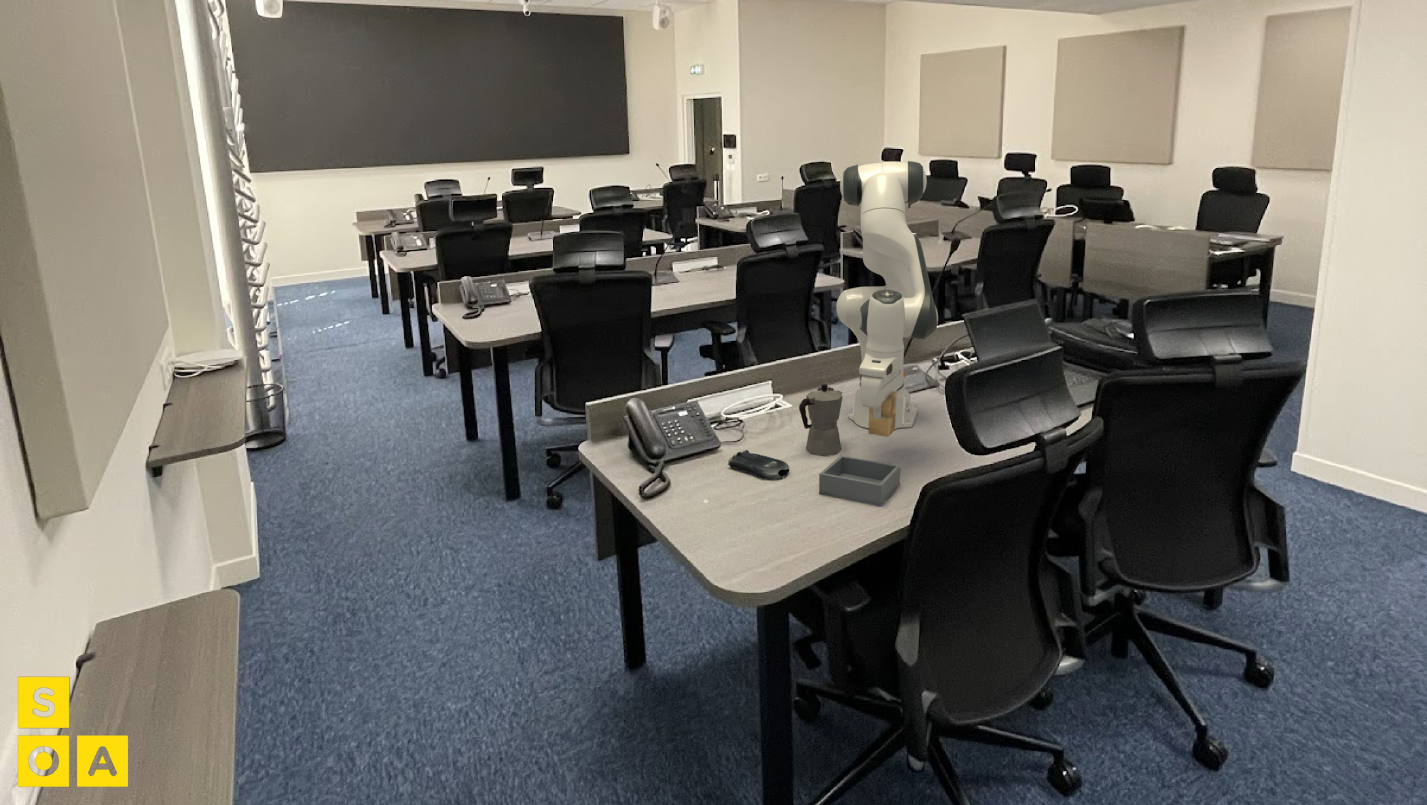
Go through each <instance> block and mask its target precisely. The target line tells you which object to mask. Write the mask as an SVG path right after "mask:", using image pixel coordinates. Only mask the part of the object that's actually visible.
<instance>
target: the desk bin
mask: <svg viewBox="0 0 1427 805" xmlns="http://www.w3.org/2000/svg"><path fill="white" fill-rule="evenodd" d="M818 476H819V478H818V481H819V482H818V494H819V495H824V496H828V497H834V498H839V499H843V500H847V501H848V500H849V501H853V502H858V503H863V504H868V505H874V506H878V507H882V506H883V505H884V504H885V502H886V501H887V500H888V499H889V498H890V497H891V496H892V495H893V493H895V491H896V490H897V489H898V488H899V487H900V485H901V484H900V483H901V465H897V464H892V463H886V462H881V461H875V460H870V459H864V458H859V457H852V456H847V455H843V454H841V455H839V456H838V457H837V458H836V459H834V461H832V462H831V463H830V464H829V465H828V466H826V467H825V468H824V469H823V470H822V471H820V472H819V475H818Z"/></svg>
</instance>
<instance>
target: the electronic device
mask: <svg viewBox="0 0 1427 805" xmlns="http://www.w3.org/2000/svg"><path fill="white" fill-rule="evenodd" d="M727 465H728V466H729V467H730V468H732V469H735V470H738V471H741V472H745V473H748V474H752V475H754V476H756V477H758V478H761V479H766V480H778V479H783V480H784V478H786V477H787V476H788V475H789V473H790V466H789V464H788V463H787V462H785V461H784V460H781V459H778V458H774V457H772V456H771V457H770V456H767V455H763V454H758V453H751V452H750V451H749V449H745V450H743V451H738V452H736V454H734V455H733V456H731V457H729V459H728V463H727ZM781 470H783V471H784V472H785V473H786V474H785V475H783V476H781V475H779V472H780V471H781Z"/></svg>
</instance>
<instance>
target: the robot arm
mask: <svg viewBox="0 0 1427 805" xmlns="http://www.w3.org/2000/svg"><path fill="white" fill-rule="evenodd" d="M842 173H843V174H842V176H841V178H840V181H839V183H840V185H839V189H840V193H841V196H842V198H843V202H845V203H846V204H847V205H849V206H853V207H859V206H860V230H861V233H860V234H861V238H862V260H863V264H864V266H865V267H866V268H867V269H868V270H869V271H871V272H872V273H875V274H877V275H880V276H881V277H882V278H883V280H884V282H885V285H883V286H881V285H880V286H860V287H858V286H857V287H853V288H848V289H846V290H843V291H842V292H841V293H840V294H839V296H838V298H837V301H836V305H835V306H836V307H835V308H836V314H837V317H838V319H839V320H840V322H841V323H842V324H843V325H844V326H846V327H847V328H849V329H850V330H851V331H852V332H853V334H854V335H855V336H856V338H857V341H858V343H859V346H860V353H861V364H860V366H859V380H858V381H859V388H858V389H857V390H856V391H855V392H854V398H853V408H852V409H853V410H852V412H849V413H848V419H850V420H852V421H854V423H855V424H856V425H857V426H858V427H862V428H866V429H869V408H872V410H873V418H874V419H880V418H881V417H882V412H883V411H881V406H882V403H883V402H884V401H885V400H886V399H887V397H888V396H889V395H890V394H891V393H893V392H894V391H895V392H897V395H896V417H895V430H896V429H900V428H901V429H902V428H912V427H913V426H914V423H915V419H916V417H917V416H918V415H917V414H918V407H917V408H916V407H915V406H912V405H911V394H910V392H908V391H909V390H907V389H906V388H905V386H904V385H905V384H904V383H905V382H904V381H905V380H904V379H905V377H906V371H905V370H904V358H905V357H904V355H905V354H904V353H905V345H904V339H903V338H910V339H917V340H925V339H927V338H928V337H930V336H931V335H932V334H933V333H934V332H935V331H936V330H937V327H938V324H939V323H938V322H939V315H938V309H937V307H936V304H935V300H934V297H933V293H932V288H931V283H930V278H929V274H928V268H927V262H926V260H925V254H924V250H923V245H922V243H921V240H920V238H919V236H918V235H916V234H914V233H913V232H912V231H911V229H910V228H909V226H908V224H907V219H906V204H907V209H908V210H909V209H910V208H911V206H912V205H914V204H915V203H918V202H919V201H920V200H921V199H922V198H923V197H924V193H925V191H926V188H927V183H928V181H927V178H928V177H927V174H926V172H925V170H924V166H923V165H922V163H920V162H918V161H912V160H908V161H894V160H893V161H882V162H875V163H866V164H862V165H861V164H860V165H859V164H855V165H851V166H848V167H846V168H845V170H844V171H843V172H842Z"/></svg>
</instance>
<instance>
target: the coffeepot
mask: <svg viewBox="0 0 1427 805" xmlns="http://www.w3.org/2000/svg"><path fill="white" fill-rule="evenodd" d="M820 387H821V389H820V390H813V391H810V392H808V393H807V394H806V395H805V397H806V398H803V399H802V400H801V402H800V404H799V405H798V410H799V413H800V417H801V421H802V424H803V426H804V427H803V428H804V429H805V430H806V429H807V430H808V429H809V430H808V433H807V440H806V445H805V449H806V451H807V452H808V453H809V454H812V455H816V456H821V457H822V456H823V457H825V456H833V455H837V454H839V453H840V451H841V450H842V445H841V438H840V432H839V426H837V425H838V421H839V419H840V414H841V408H842V403H843V402H842V401H843V395H842V394H844V392H843V391H841V390H828V384H827V383H822V384H821V386H820ZM806 407H807V409H806ZM806 410H808V416H807V411H806ZM808 417H809V419H808ZM808 420H810V424H809V423H808Z"/></svg>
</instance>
